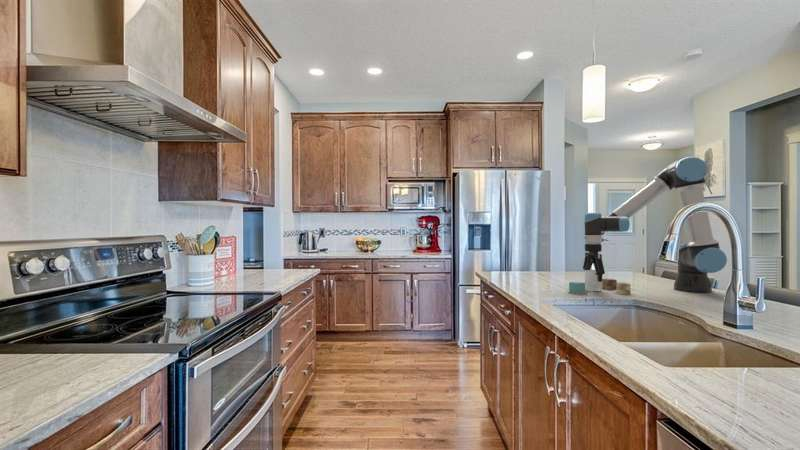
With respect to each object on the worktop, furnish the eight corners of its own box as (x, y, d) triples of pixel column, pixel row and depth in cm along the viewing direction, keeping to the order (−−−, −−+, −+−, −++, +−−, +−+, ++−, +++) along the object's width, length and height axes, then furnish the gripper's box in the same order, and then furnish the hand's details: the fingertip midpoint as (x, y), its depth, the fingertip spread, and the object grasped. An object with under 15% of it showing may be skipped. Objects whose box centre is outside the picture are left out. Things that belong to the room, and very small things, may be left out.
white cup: (605, 290, 189) (605, 270, 189) (597, 292, 184) (596, 272, 184) (590, 288, 195) (589, 269, 195) (581, 290, 191) (581, 270, 191)
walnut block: (610, 288, 197) (610, 278, 197) (616, 289, 192) (616, 279, 192) (601, 288, 197) (601, 278, 197) (607, 289, 192) (607, 280, 192)
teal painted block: (577, 291, 188) (577, 281, 188) (585, 293, 183) (585, 282, 183) (569, 292, 186) (569, 282, 186) (577, 294, 181) (577, 283, 181)
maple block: (628, 292, 183) (628, 282, 183) (630, 294, 178) (630, 284, 178) (616, 292, 185) (616, 282, 185) (618, 294, 180) (618, 283, 180)
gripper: (576, 242, 202) (576, 282, 202) (595, 244, 178) (596, 290, 178) (590, 242, 202) (591, 282, 202) (612, 244, 177) (612, 290, 177)
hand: (593, 286), depth 190 cm, fingers open, 13 cm apart
